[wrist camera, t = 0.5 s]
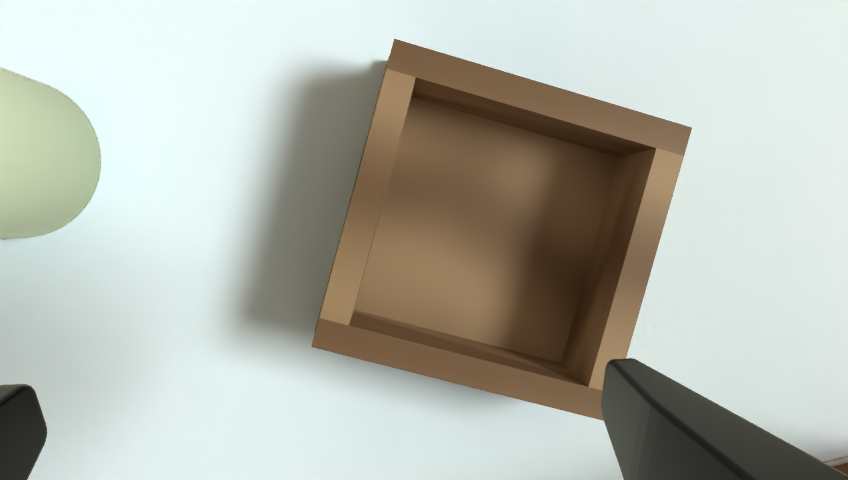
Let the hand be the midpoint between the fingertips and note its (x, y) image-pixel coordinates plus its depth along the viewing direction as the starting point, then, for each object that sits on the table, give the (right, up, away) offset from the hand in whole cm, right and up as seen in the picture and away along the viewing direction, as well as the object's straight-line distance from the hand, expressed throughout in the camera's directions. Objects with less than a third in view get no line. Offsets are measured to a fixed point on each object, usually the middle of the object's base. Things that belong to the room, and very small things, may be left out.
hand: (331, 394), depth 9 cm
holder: (+4, +3, +13) cm, 14 cm away
